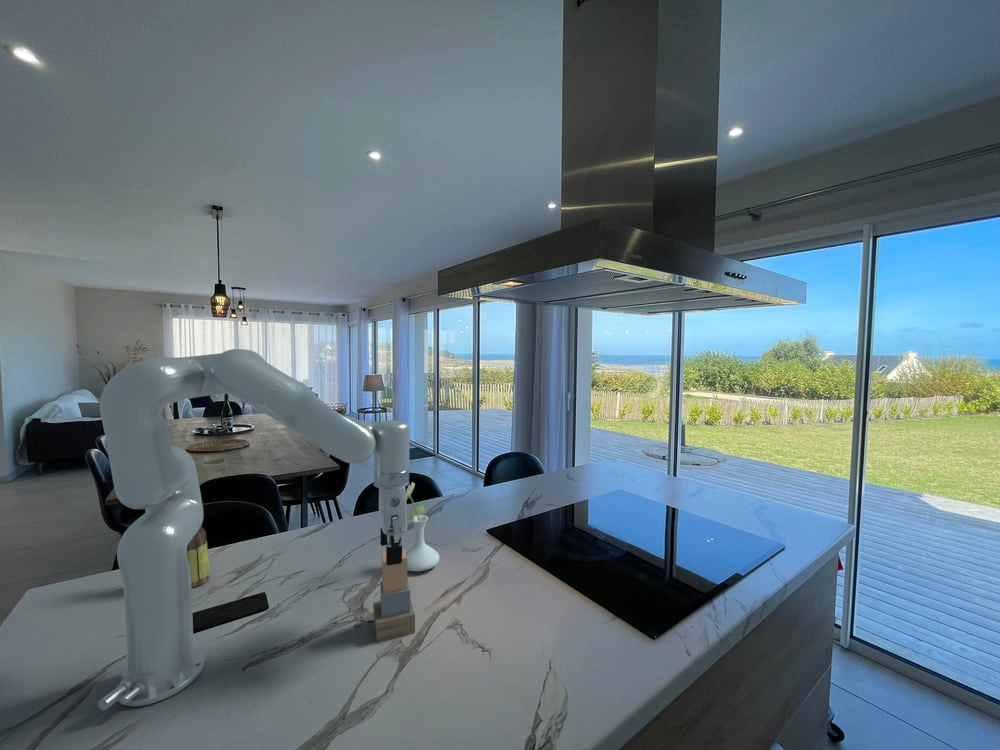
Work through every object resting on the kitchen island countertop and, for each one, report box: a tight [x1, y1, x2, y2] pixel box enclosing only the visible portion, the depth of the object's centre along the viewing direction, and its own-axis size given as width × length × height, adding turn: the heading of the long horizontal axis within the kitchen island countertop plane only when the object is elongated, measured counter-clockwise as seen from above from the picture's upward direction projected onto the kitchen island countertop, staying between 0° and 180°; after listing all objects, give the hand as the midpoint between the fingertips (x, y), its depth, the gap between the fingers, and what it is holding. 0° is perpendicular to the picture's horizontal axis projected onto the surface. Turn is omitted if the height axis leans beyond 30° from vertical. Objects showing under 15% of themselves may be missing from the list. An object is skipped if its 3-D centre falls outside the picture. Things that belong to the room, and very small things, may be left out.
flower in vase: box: [405, 481, 441, 572], centre depth 118 cm, size 13×11×25 cm
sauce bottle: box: [187, 525, 210, 588], centre depth 109 cm, size 6×6×20 cm
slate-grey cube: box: [379, 577, 411, 618], centre depth 92 cm, size 6×6×5 cm
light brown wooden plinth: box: [372, 599, 416, 643], centre depth 92 cm, size 8×8×4 cm
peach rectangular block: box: [381, 547, 408, 593], centre depth 92 cm, size 5×5×7 cm
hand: (390, 553), depth 91 cm, fingers open, 9 cm apart
